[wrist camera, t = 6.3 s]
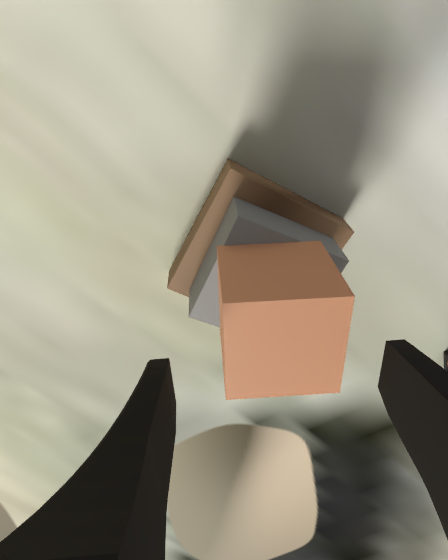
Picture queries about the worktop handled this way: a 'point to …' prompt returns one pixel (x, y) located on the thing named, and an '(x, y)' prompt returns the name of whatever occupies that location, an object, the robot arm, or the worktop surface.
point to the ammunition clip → (446, 360)
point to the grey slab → (239, 231)
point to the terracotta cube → (282, 319)
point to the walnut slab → (258, 193)
